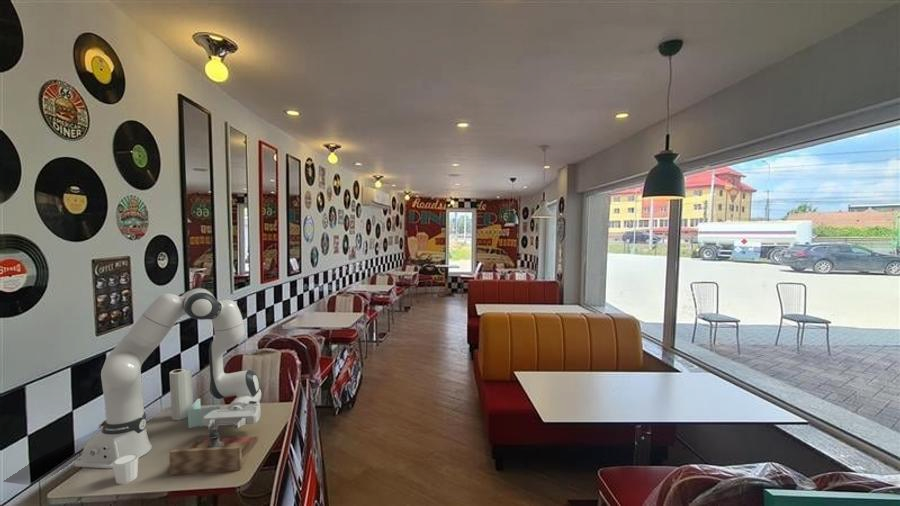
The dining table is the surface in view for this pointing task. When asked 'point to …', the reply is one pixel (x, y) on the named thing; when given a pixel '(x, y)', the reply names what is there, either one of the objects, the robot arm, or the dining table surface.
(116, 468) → the white tapered cup
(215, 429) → the stone chess piece
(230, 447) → the tray
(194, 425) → the l-shaped corner panel
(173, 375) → the paper towel roll
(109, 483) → the dining table surface
